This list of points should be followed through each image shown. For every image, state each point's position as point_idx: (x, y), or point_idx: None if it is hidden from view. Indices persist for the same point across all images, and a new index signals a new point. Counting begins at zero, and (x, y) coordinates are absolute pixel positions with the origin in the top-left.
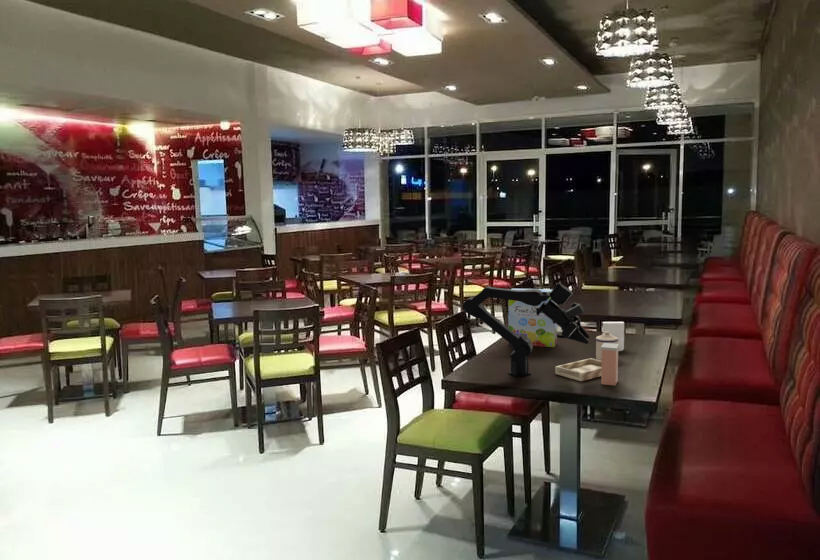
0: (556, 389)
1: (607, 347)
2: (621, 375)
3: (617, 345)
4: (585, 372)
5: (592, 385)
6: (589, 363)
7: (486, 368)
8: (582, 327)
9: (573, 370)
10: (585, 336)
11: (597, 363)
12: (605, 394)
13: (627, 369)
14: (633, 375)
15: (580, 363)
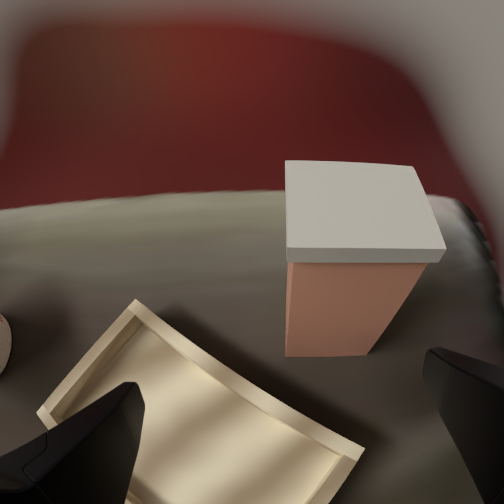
0: None
1: (431, 209)
2: (196, 294)
3: (338, 165)
4: (333, 432)
5: (399, 385)
6: None
7: None
8: (31, 452)
9: (312, 501)
10: (135, 430)
11: (81, 388)
12: (477, 312)
13: (107, 279)
14: (188, 255)
15: None
